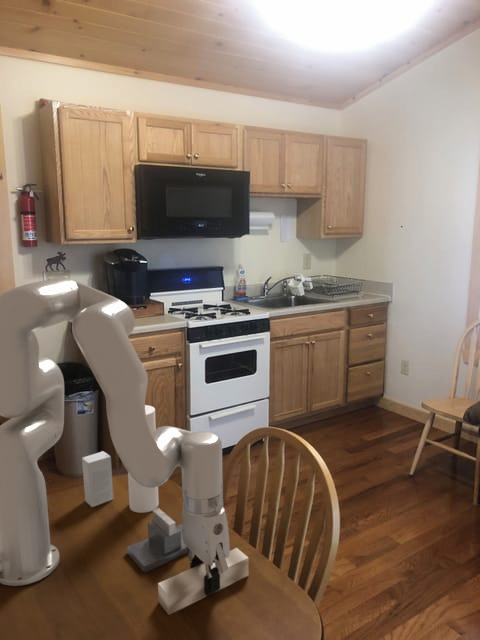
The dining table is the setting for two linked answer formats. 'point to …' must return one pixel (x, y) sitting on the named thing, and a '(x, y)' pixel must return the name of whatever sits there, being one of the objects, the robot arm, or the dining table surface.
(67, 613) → the dining table surface
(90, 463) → the skincare box
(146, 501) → the cylindrical container
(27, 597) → the dining table surface
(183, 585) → the ash bar
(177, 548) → the fulcrum stand
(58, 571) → the dining table surface
